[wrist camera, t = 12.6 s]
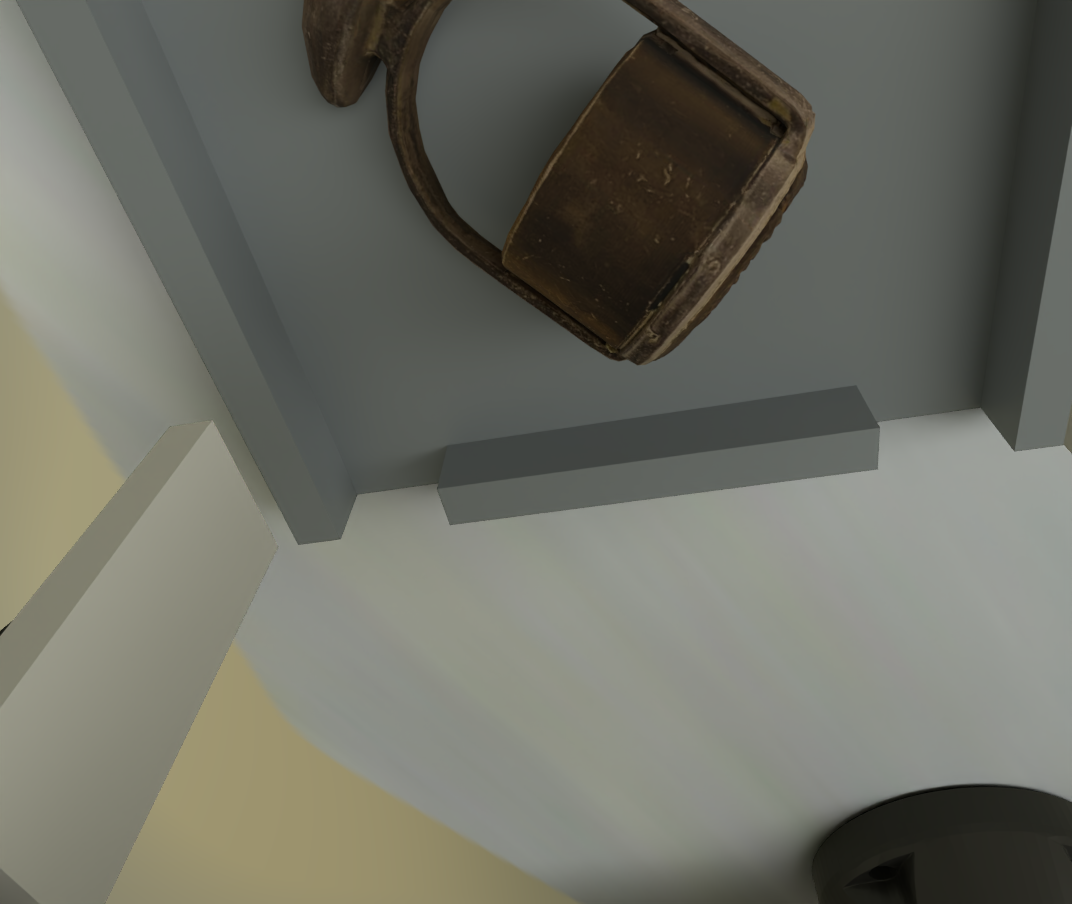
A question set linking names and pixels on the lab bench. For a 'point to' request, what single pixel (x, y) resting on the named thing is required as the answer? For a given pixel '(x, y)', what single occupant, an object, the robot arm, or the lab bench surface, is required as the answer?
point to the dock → (499, 195)
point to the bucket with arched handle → (606, 170)
